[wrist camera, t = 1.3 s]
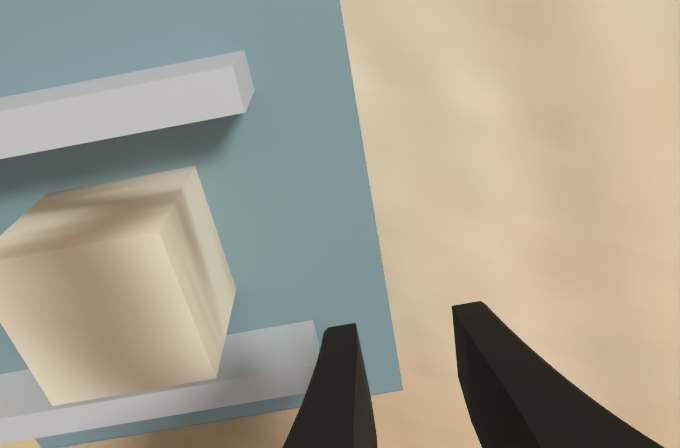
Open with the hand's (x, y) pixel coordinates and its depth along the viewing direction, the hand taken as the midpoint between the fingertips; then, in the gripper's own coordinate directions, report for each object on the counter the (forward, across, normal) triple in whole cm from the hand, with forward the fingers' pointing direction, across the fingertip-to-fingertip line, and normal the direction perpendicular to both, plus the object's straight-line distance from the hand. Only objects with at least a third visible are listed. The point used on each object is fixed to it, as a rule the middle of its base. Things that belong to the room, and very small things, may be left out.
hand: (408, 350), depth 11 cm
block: (+7, +8, 0) cm, 11 cm away
